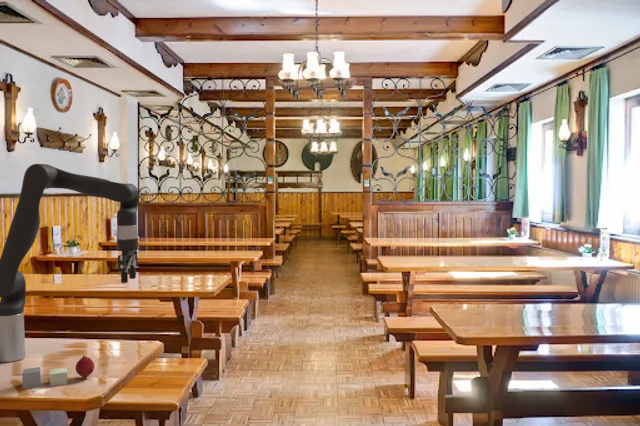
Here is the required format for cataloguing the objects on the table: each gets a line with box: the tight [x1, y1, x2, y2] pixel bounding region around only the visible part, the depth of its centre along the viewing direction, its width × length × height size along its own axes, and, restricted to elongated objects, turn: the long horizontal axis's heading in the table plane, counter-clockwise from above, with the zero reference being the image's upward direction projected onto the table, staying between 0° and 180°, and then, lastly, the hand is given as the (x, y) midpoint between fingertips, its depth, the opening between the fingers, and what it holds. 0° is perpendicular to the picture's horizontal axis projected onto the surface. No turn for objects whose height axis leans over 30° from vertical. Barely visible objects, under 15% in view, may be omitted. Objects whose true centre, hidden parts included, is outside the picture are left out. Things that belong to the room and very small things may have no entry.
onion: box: [75, 354, 95, 379], centre depth 189 cm, size 6×6×8 cm
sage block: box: [49, 367, 68, 387], centre depth 185 cm, size 5×5×4 cm
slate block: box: [21, 366, 42, 390], centre depth 183 cm, size 5×5×5 cm
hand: (128, 280), depth 209 cm, fingers open, 8 cm apart
